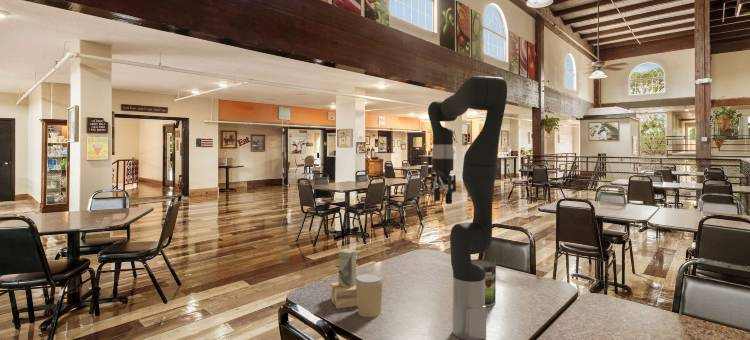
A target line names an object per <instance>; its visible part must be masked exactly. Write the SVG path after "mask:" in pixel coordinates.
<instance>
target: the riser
mask: <svg viewBox="0 0 750 340" xmlns="http://www.w3.org/2000/svg"><path fill="white" fill-rule="evenodd" d="M330 299H331V301H332V303H333V305H334V306H335V308H336V310H337V309H344V308H352V307H358V305H357V291H356V285H354V286H352V287H351V288H347V287H342V286H339V281H332V282H330Z"/></svg>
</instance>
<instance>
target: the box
mask: <svg viewBox="0 0 750 340" xmlns="http://www.w3.org/2000/svg"><path fill="white" fill-rule="evenodd" d="M356 267H357V250H356V249H350V248H343V249H341V250H339V251H338V282H339V286H342V287H347V288H351V287H352V286H354V285H356V281H355V280H356V278H357V274H356V273H357V268H356Z"/></svg>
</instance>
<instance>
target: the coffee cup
mask: <svg viewBox="0 0 750 340" xmlns="http://www.w3.org/2000/svg"><path fill="white" fill-rule="evenodd" d="M355 281H356V291H357V305H358V306H357V313H358V315H359V316H361V317H363V318H374V317H378V316H380V315H381V312H382V301H383V283H384V278H383V277H382V276H381V275H380V274H377V273H362V274H360V275H356V280H355Z"/></svg>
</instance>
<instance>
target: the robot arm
mask: <svg viewBox="0 0 750 340" xmlns="http://www.w3.org/2000/svg"><path fill="white" fill-rule="evenodd" d="M507 99H508V84H507V81H506V79H505V78H504V77H500V76H489V75H473V76H470V77H469V78H468V79H467V80H465V81H464V82H463V83H462V85H461V86H460V87H459V88H458V89H457V91H455V92H454V94H452V95H449V97H446V98H445V99H444V100H443V101H432V102H431V103H430V104H429V106H428V107H427V114H428V118H429V121H430V126H431V131H432V149H431V150H432V151H431V152H432V154H431V156H432V157H431V158H432V159H431V161H432V162H431V163H432V164H431V166H432V167H431V169H432V171H434V172H431V173H430V189H432V191H433V201H434V202H440V201H441V188H443V189H444V192H445V193H444V195H445V196H444V197H445V202H444V203H445V204H446V205H452V203H453V193H455V192H457V182H456V181H457V178H456V177H457V175H456V174H451V171H454V141H453V140H454V138H453V137H454V133H453V130H452V128H450V127H445V126H443V125H442V124H441V122H454V121H456V120H457V118H458V117H461V116H462V115H464V114H466V112H467V111H468V109H471V110H476V111H486V115H485V120H484V123H483V126H482V129H481V130H480V132H479V133H478V135H477V136H476V138H475V139H474V140H473V141H472V143H471V144H470V146H469V147H468V148H467V150H466V151H465V154H464V157H463V163H462V177H461V178H462V183H463V185H464V187H465V190H466V192H467V193H468V195H469V197H470V199H471V201H472V207H473V219H472V222H463V223H457V224H454V225H453V226H452V227H451V230H450V235H449V240H450V241H449V243H450V264H451V268H452V333H453V335H454V336H455V337H456V338H458V339H461V340H486V339H487V307H486V306H485V270H484V268H483V267H482V266H480V265H477V264H474V263H471V260H472V257H471V256H472V255H477V254H484V253H486V252H487V251H489V249H490V248H491V244H492V238H493V203H494V189H495V182H496V174H497V165H498V156H499V155H498V154H499V153H498V152H499V143H500V135H501V129H502V126H503V125H502V124H503V119H504V115H505V110H506V105H507Z"/></svg>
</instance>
